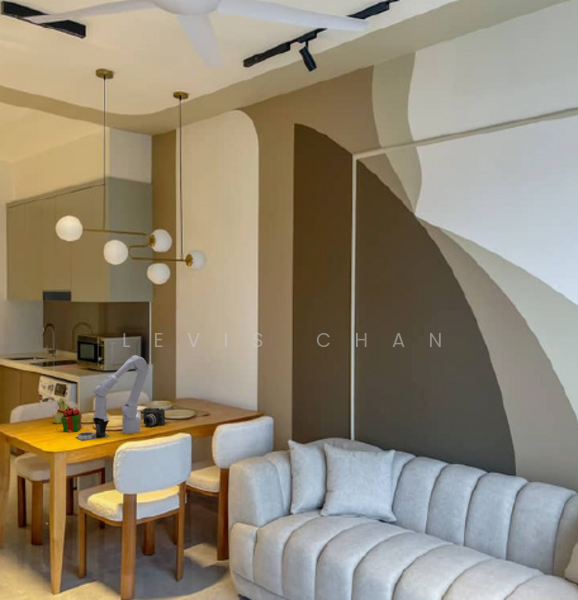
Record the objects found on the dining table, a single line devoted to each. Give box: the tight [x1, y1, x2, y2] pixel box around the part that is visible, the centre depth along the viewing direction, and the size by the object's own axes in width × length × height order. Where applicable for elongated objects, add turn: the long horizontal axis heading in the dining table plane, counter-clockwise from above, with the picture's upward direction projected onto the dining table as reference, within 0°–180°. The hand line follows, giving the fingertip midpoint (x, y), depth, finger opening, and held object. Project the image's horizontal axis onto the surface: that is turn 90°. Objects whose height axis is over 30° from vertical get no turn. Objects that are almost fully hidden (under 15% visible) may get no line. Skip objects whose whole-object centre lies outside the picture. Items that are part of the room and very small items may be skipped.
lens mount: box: [74, 431, 111, 442], centre depth 322 cm, size 16×10×3 cm, turn 131°
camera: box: [142, 406, 166, 427], centre depth 354 cm, size 14×11×10 cm
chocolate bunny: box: [52, 397, 72, 425], centre depth 357 cm, size 7×11×15 cm, turn 137°
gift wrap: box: [51, 406, 88, 434], centre depth 333 cm, size 20×19×14 cm
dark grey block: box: [95, 424, 106, 437], centre depth 325 cm, size 5×5×6 cm
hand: (100, 431), depth 325 cm, fingers closed on dark grey block, 5 cm apart
